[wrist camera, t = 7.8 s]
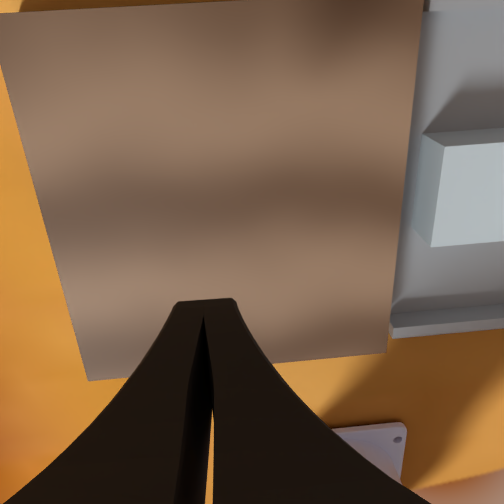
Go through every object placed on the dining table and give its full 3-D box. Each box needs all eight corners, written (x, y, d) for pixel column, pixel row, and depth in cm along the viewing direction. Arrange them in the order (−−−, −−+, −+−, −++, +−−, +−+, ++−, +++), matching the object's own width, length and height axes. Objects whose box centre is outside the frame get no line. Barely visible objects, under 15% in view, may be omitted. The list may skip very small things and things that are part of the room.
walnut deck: (368, 319, 23) (386, 352, 21) (100, 344, 22) (88, 381, 20) (395, -7, 16) (425, -10, 14) (17, 13, 16) (-14, 14, 14)
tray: (537, 304, 23) (558, 323, 22) (375, 319, 23) (387, 339, 21) (627, -20, 17) (666, -23, 15) (405, -8, 16) (424, -9, 15)
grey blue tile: (500, 219, 20) (528, 238, 19) (411, 226, 20) (430, 247, 18) (520, 126, 18) (553, 138, 17) (421, 133, 18) (445, 146, 17)
